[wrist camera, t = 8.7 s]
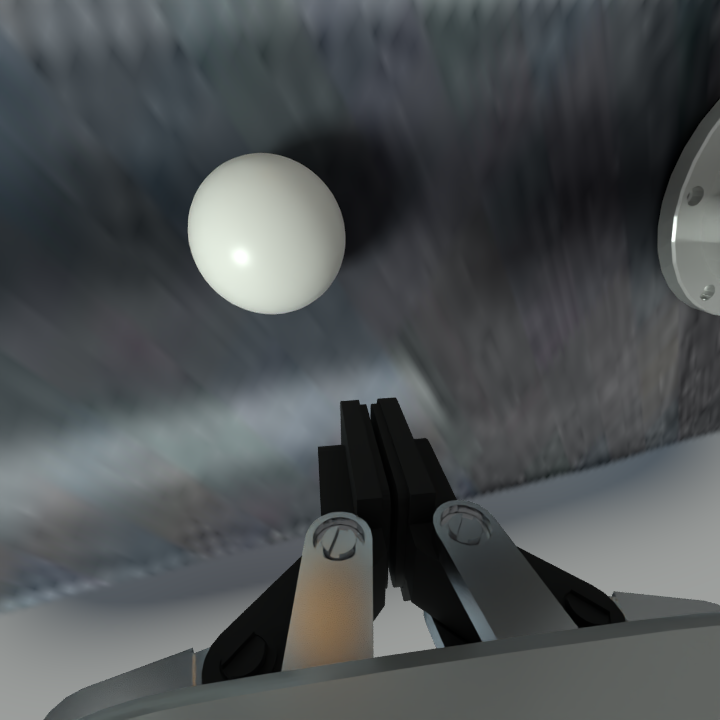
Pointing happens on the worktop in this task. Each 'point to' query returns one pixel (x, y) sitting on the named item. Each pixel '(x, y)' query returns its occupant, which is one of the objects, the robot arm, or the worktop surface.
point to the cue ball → (266, 233)
